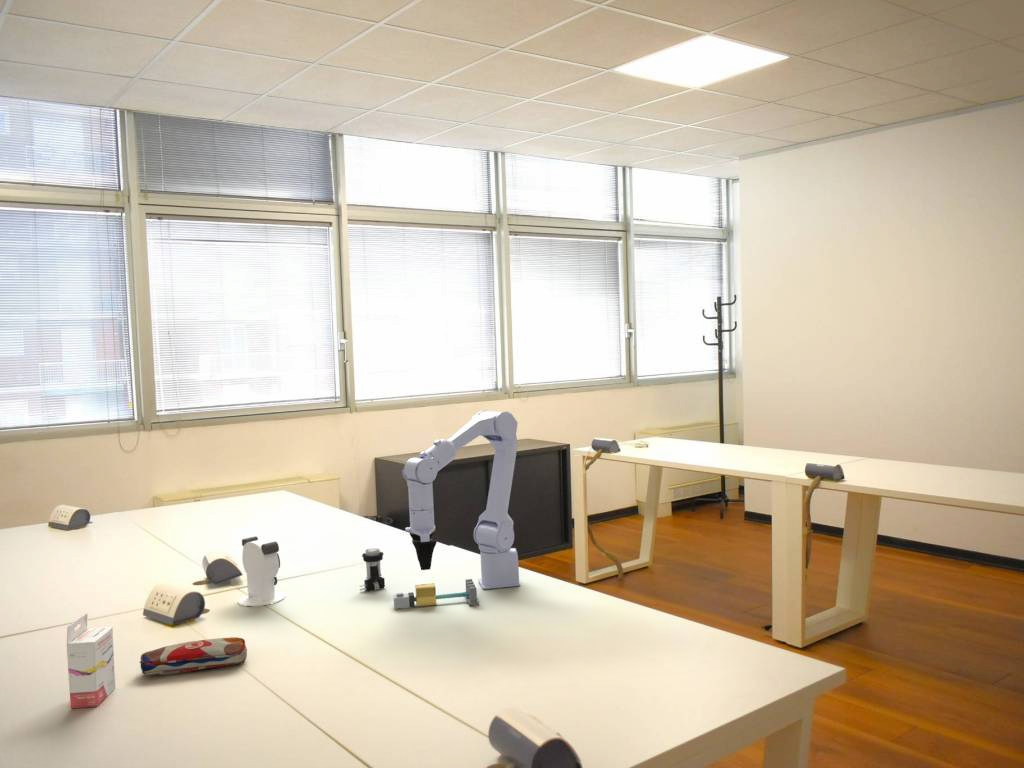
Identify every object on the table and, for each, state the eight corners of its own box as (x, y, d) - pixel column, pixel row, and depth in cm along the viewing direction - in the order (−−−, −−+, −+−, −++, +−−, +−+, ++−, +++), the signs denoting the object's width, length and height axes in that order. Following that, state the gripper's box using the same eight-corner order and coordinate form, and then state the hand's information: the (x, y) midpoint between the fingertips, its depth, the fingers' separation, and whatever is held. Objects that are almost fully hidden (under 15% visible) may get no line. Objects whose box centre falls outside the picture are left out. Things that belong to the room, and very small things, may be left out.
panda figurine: (295, 598, 209) (292, 538, 208) (254, 610, 201) (250, 548, 200) (269, 590, 217) (266, 532, 217) (229, 601, 209) (225, 541, 208)
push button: (364, 594, 210) (362, 554, 210) (355, 589, 214) (353, 551, 214) (388, 588, 214) (386, 550, 213) (379, 584, 218) (377, 546, 218)
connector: (408, 604, 200) (408, 591, 200) (409, 607, 198) (408, 594, 197) (394, 605, 200) (393, 592, 199) (394, 609, 197) (393, 595, 197)
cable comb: (473, 594, 206) (473, 577, 206) (479, 605, 197) (478, 588, 197) (464, 595, 206) (463, 578, 206) (469, 606, 197) (468, 589, 197)
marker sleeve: (434, 600, 202) (434, 583, 202) (436, 604, 198) (435, 587, 198) (416, 602, 201) (415, 585, 201) (417, 606, 198) (416, 589, 197)
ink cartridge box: (98, 707, 149) (93, 625, 148) (69, 709, 148) (64, 627, 148) (117, 687, 157) (112, 610, 156) (90, 689, 157) (84, 612, 156)
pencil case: (235, 677, 160) (233, 652, 160) (132, 682, 160) (130, 656, 160) (252, 656, 171) (251, 632, 171) (156, 660, 171) (154, 636, 171)
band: (413, 603, 200) (413, 592, 200) (414, 607, 198) (414, 595, 198) (408, 604, 200) (408, 592, 200) (409, 607, 198) (408, 596, 197)
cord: (470, 595, 202) (470, 591, 202) (470, 596, 201) (470, 592, 201) (403, 601, 199) (403, 597, 199) (403, 603, 198) (403, 598, 198)
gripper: (402, 504, 205) (405, 559, 206) (406, 515, 191) (409, 574, 191) (431, 502, 206) (434, 556, 207) (437, 513, 192) (440, 572, 193)
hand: (424, 565), depth 199 cm, fingers open, 7 cm apart
